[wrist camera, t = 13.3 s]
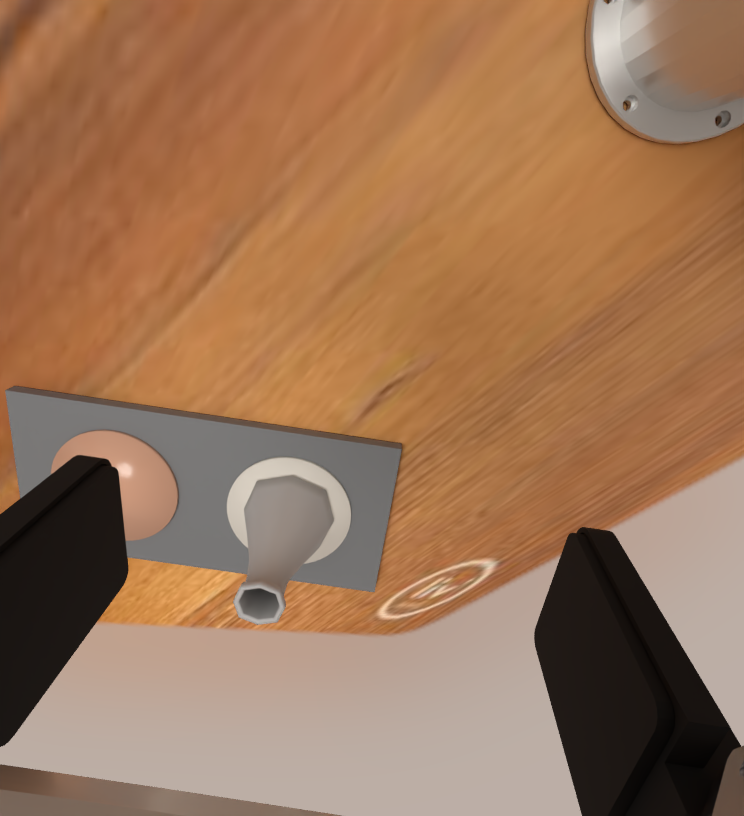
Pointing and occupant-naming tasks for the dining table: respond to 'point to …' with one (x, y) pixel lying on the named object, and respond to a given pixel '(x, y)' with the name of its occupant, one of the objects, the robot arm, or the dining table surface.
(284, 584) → the flask
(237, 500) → the cream coaster
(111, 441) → the peach domed disc
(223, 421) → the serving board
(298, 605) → the dining table surface
